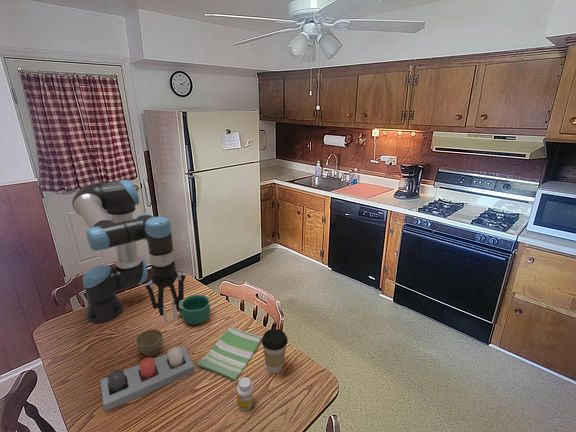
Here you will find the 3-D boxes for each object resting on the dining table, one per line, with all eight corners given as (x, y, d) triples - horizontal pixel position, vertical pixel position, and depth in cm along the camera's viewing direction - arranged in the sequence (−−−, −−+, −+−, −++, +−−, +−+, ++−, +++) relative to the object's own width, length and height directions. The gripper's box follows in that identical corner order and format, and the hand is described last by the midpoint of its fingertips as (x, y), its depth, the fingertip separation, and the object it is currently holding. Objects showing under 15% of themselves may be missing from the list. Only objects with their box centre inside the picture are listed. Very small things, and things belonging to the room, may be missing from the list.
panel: (102, 385, 113) (100, 379, 112) (185, 352, 128) (184, 346, 127) (105, 411, 103) (103, 405, 102) (194, 372, 119) (194, 366, 118)
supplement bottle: (238, 397, 109) (237, 375, 106) (253, 396, 110) (252, 375, 107) (237, 411, 104) (235, 389, 101) (253, 410, 105) (252, 388, 101)
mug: (215, 313, 152) (214, 297, 149) (202, 330, 141) (200, 313, 138) (185, 307, 156) (183, 291, 153) (170, 323, 145) (168, 306, 142)
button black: (110, 386, 111) (106, 373, 109) (125, 379, 113) (122, 367, 111) (111, 396, 107) (108, 383, 105) (127, 389, 109) (124, 376, 107)
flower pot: (155, 362, 123) (152, 348, 121) (132, 358, 125) (129, 344, 122) (169, 344, 132) (167, 330, 130) (148, 340, 134) (145, 327, 132)
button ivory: (168, 362, 121) (166, 350, 119) (181, 357, 124) (179, 345, 122) (171, 371, 117) (169, 358, 115) (185, 365, 120) (183, 353, 118)
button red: (140, 373, 116) (138, 361, 114) (154, 367, 118) (152, 355, 116) (143, 383, 112) (140, 370, 110) (157, 377, 115) (155, 364, 113)
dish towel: (195, 367, 122) (195, 361, 121) (228, 330, 142) (228, 325, 141) (234, 383, 115) (234, 377, 114) (263, 341, 136) (263, 336, 135)
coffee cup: (290, 361, 125) (291, 331, 120) (281, 380, 116) (282, 349, 111) (267, 355, 128) (267, 325, 123) (257, 373, 119) (257, 342, 114)
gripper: (139, 273, 98) (149, 333, 106) (189, 260, 107) (195, 317, 115) (135, 263, 104) (144, 321, 112) (183, 252, 112) (189, 306, 121)
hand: (170, 319), depth 113 cm, fingers open, 3 cm apart
